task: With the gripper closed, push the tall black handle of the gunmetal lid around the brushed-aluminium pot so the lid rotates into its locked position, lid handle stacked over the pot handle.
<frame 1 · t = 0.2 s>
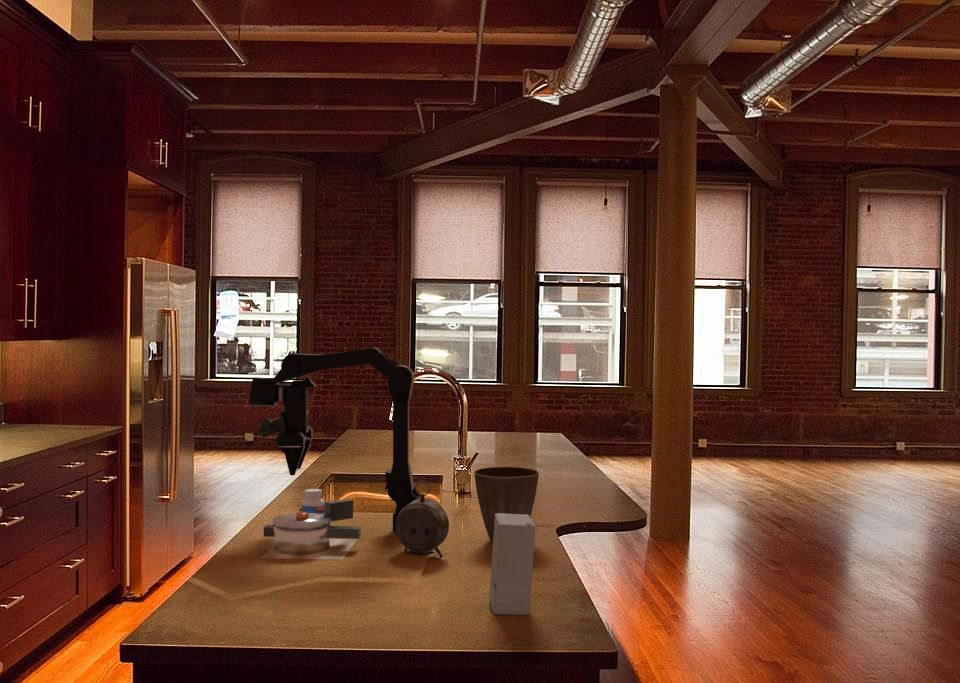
hand: (295, 472, 211), 14 cm above the counter, fingers open, 9 cm apart
lid: (314, 513, 194), point 8 cm above the counter, hinge at 45.0°
skincare box: (511, 609, 154), on the counter
cooker pot: (301, 548, 192), resting on trivet
alarm clock: (420, 557, 189), on the counter
trivet: (310, 551, 192), on the counter
plant pot: (505, 541, 204), on the counter
pill bottle: (312, 531, 212), on the counter
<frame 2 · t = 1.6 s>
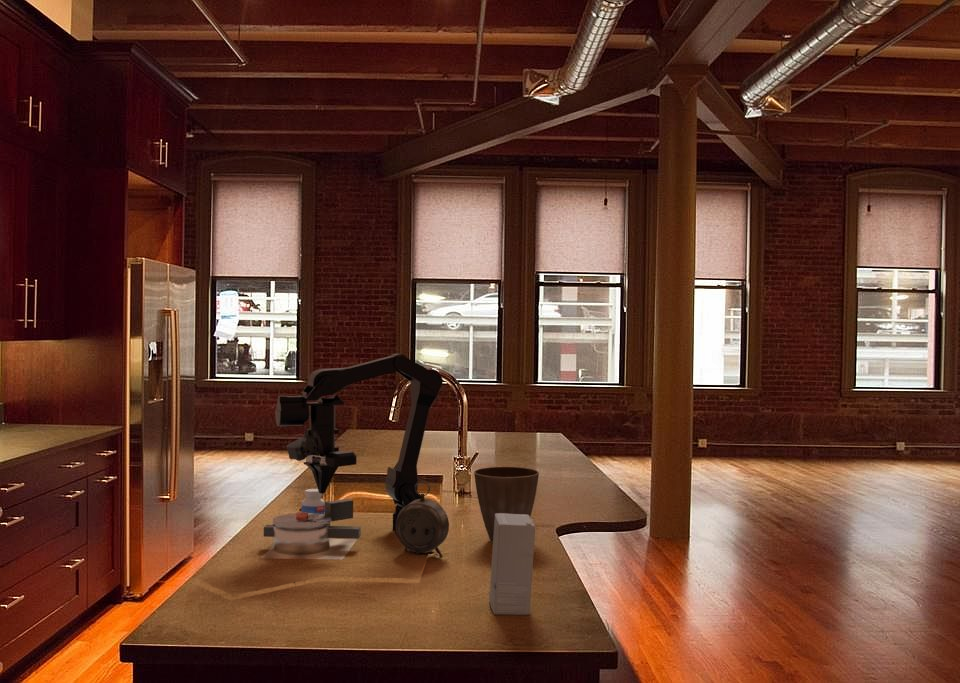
hand: (321, 493, 202), 11 cm above the counter, fingers closed
nothing on the counter moved.
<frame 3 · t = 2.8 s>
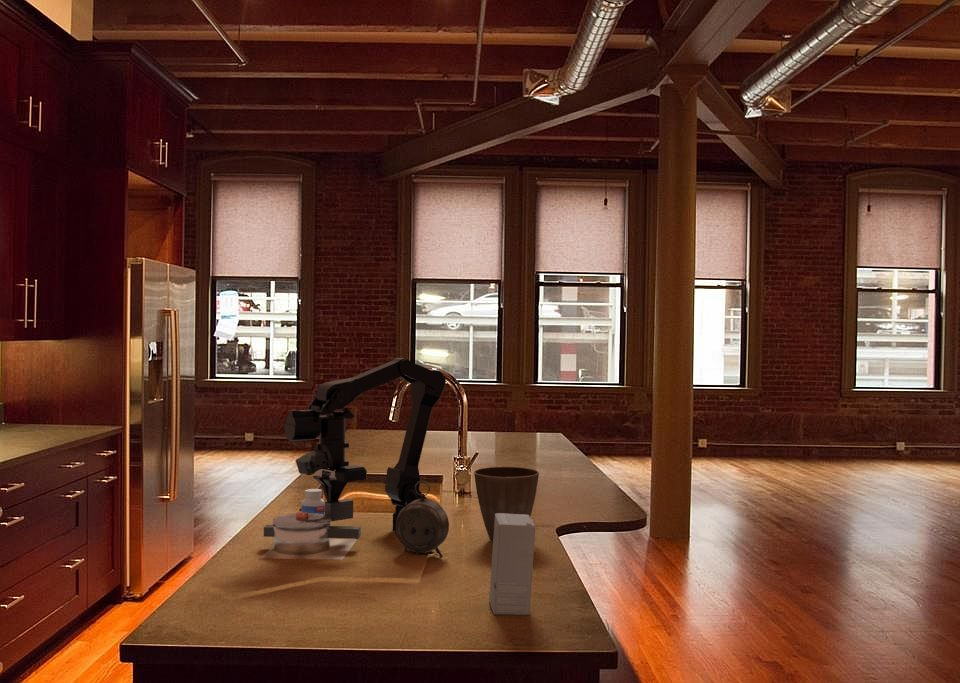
hand: (331, 507, 200), 8 cm above the counter, fingers closed
lid: (314, 513, 194), point 8 cm above the counter, hinge at 45.0°, touching gripper
everything else where it was.
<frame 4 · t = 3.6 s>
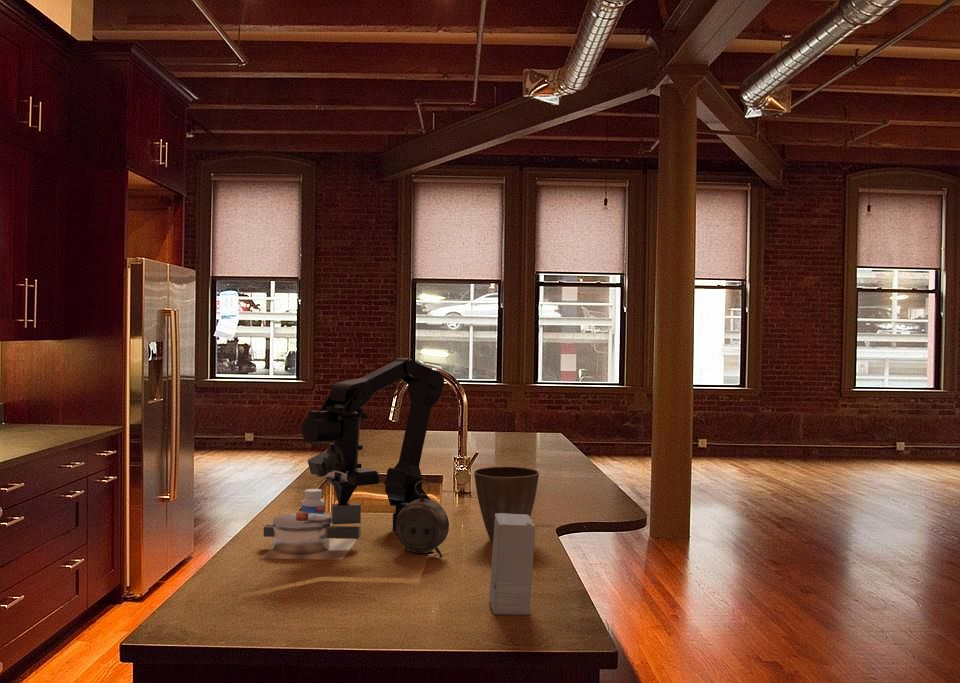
hand: (341, 509, 196), 8 cm above the counter, fingers closed
lid: (316, 514, 193), point 8 cm above the counter, hinge at 18.9°, touching gripper
everything else where it was.
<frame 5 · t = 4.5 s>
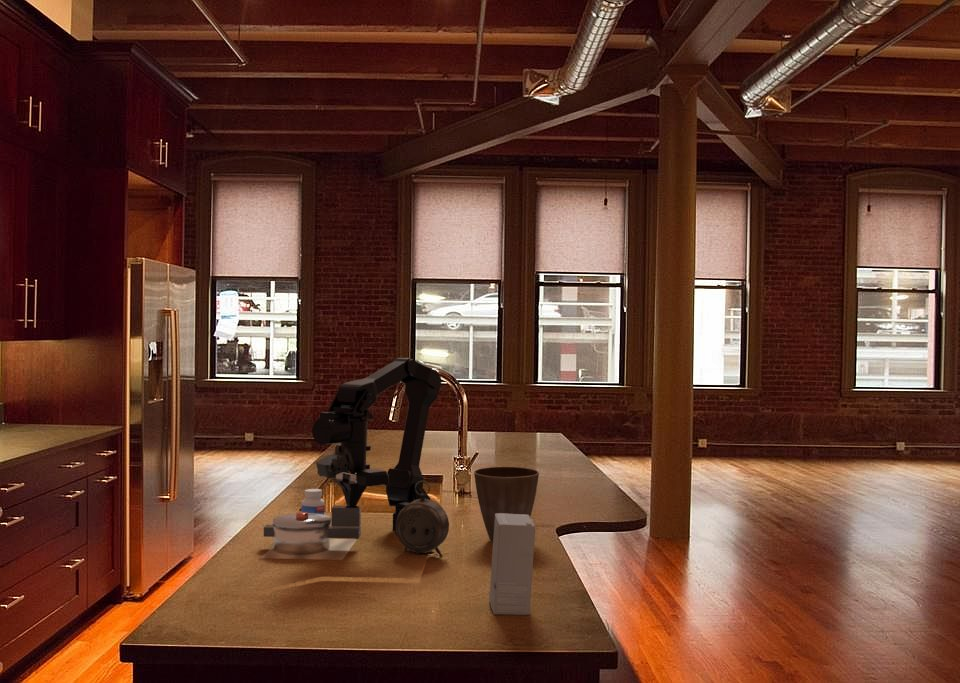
hand: (351, 511, 194), 8 cm above the counter, fingers closed
lid: (316, 515, 192), point 8 cm above the counter, hinge at 2.7°, touching gripper
everything else where it was.
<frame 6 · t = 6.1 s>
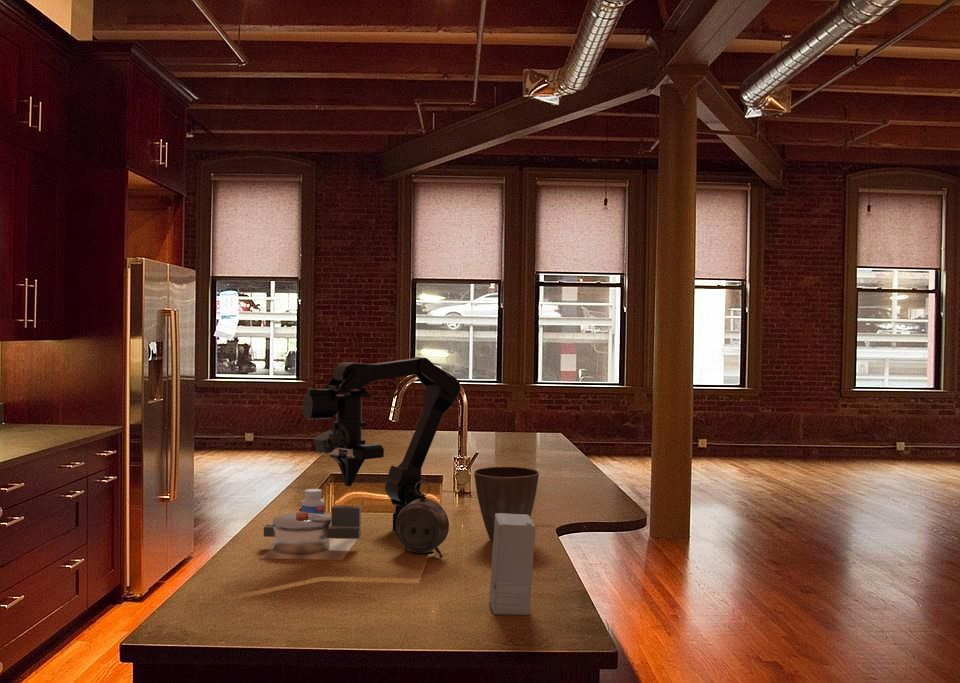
hand: (348, 486, 202), 12 cm above the counter, fingers closed
lid: (316, 515, 192), point 8 cm above the counter, hinge at 2.3°
everything else where it was.
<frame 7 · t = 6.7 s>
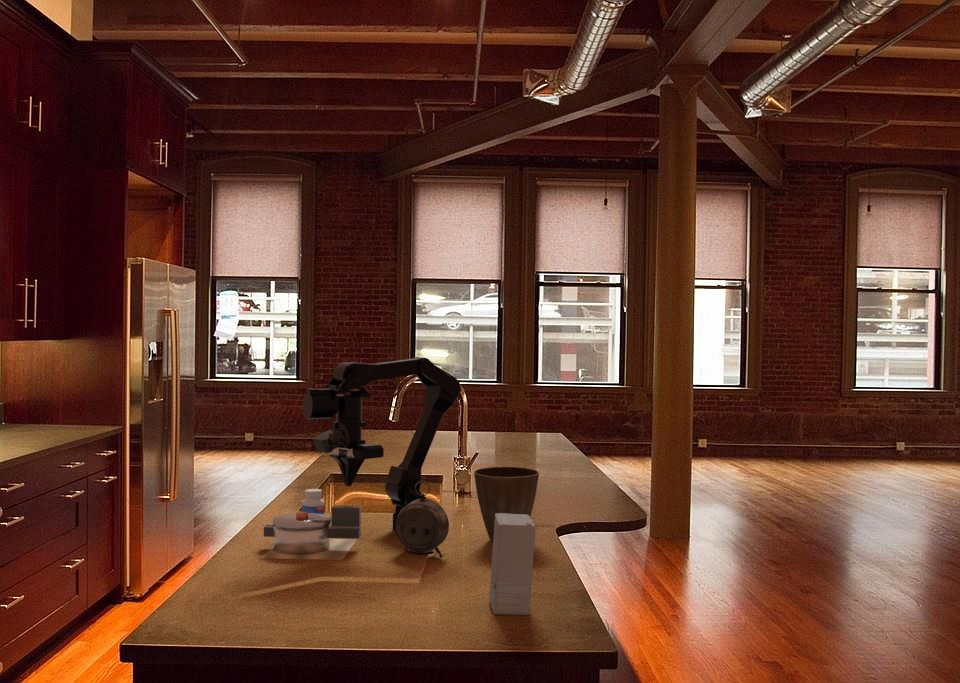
hand: (348, 485, 202), 13 cm above the counter, fingers closed
nothing on the counter moved.
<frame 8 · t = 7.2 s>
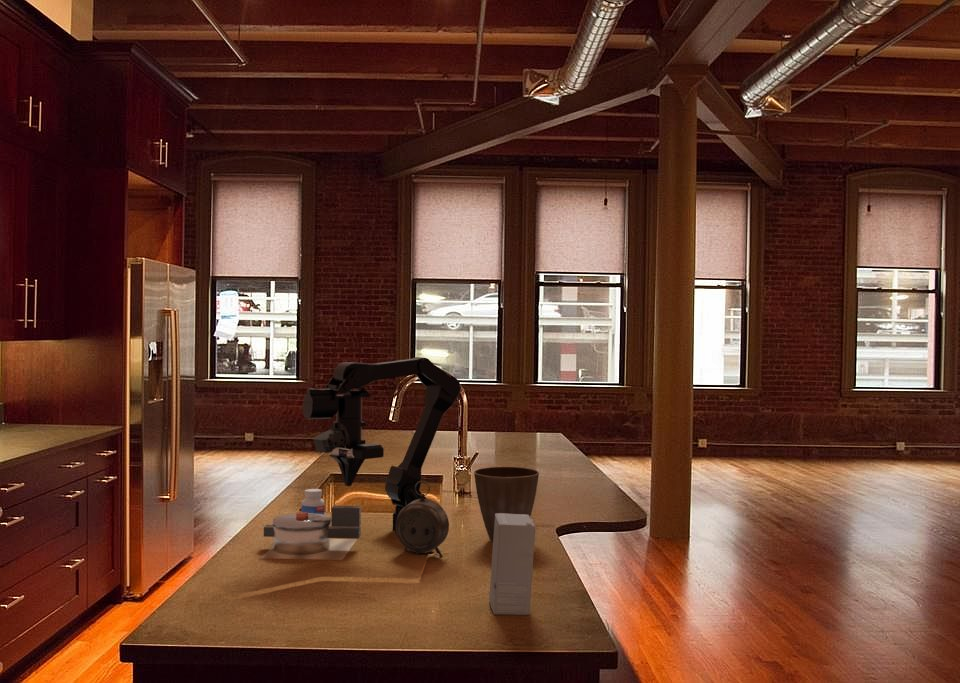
hand: (348, 485, 202), 13 cm above the counter, fingers closed
nothing on the counter moved.
at the end: lid at +2° (first picture: +45°) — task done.
